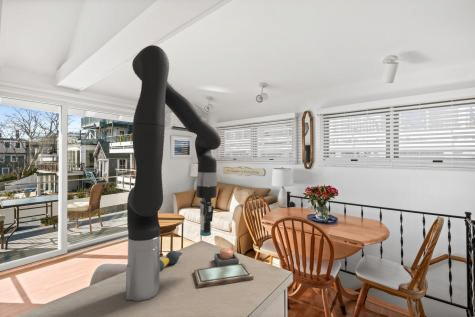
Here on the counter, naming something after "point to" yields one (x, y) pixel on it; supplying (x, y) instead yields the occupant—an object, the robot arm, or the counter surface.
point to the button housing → (225, 262)
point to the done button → (226, 254)
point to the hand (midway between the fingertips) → (205, 230)
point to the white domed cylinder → (203, 227)
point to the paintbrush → (169, 259)
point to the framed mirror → (222, 275)
